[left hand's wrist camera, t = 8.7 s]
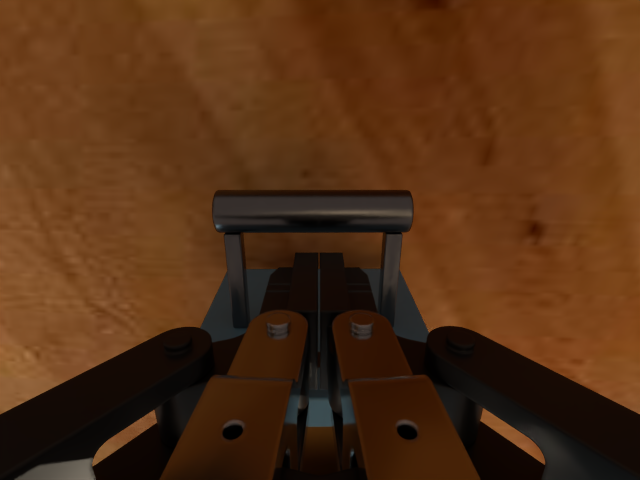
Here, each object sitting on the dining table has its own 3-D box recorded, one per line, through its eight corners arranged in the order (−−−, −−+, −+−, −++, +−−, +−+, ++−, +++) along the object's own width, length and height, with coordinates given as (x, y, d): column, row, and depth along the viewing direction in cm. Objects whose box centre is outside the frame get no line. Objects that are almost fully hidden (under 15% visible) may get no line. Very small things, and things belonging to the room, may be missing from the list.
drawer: (216, 163, 17) (129, 231, 9) (409, 163, 17) (493, 230, 9) (253, 521, 27) (227, 707, 19) (375, 520, 27) (401, 703, 19)
